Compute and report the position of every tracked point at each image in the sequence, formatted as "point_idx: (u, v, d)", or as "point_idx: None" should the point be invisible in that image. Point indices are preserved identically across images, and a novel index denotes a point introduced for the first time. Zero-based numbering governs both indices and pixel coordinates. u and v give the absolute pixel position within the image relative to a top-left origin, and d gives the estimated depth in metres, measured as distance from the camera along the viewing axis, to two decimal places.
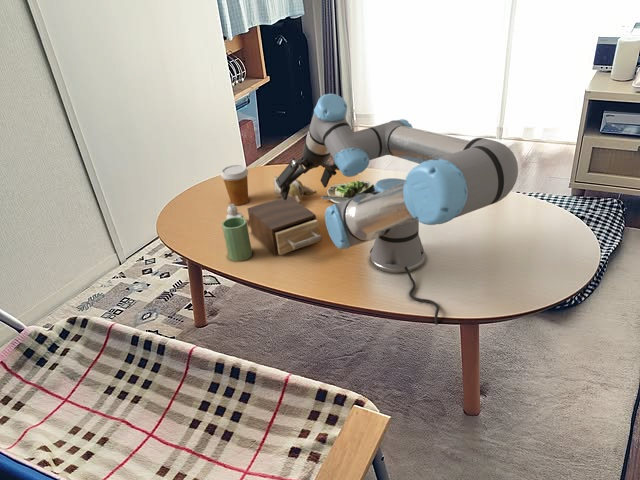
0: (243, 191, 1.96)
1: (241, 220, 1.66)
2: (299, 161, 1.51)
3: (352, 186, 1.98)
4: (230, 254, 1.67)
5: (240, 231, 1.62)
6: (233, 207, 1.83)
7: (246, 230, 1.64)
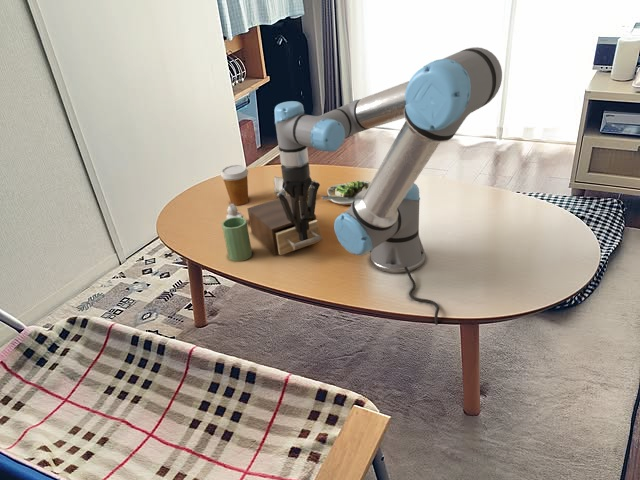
0: (243, 191, 1.96)
1: (241, 220, 1.66)
2: (281, 191, 1.52)
3: (352, 186, 1.98)
4: (230, 254, 1.67)
5: (240, 231, 1.62)
6: (233, 207, 1.83)
7: (246, 230, 1.64)
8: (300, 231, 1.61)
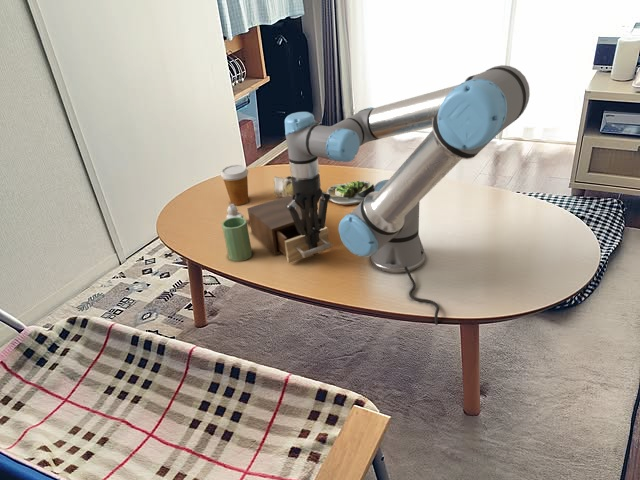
0: (243, 191, 1.96)
1: (241, 220, 1.66)
2: (291, 203, 1.49)
3: (352, 186, 1.98)
4: (230, 254, 1.67)
5: (240, 231, 1.62)
6: (233, 207, 1.83)
7: (246, 230, 1.64)
8: (310, 243, 1.58)
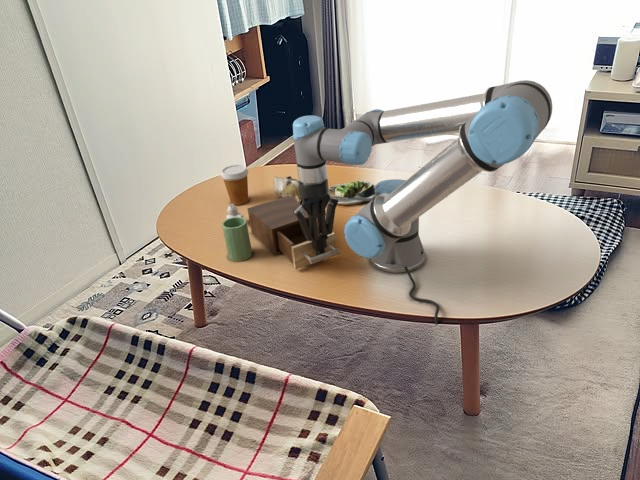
0: (243, 191, 1.96)
1: (241, 220, 1.66)
2: (299, 208, 1.46)
3: (352, 186, 1.98)
4: (230, 254, 1.67)
5: (240, 231, 1.62)
6: (233, 207, 1.83)
7: (246, 230, 1.64)
8: (317, 249, 1.55)
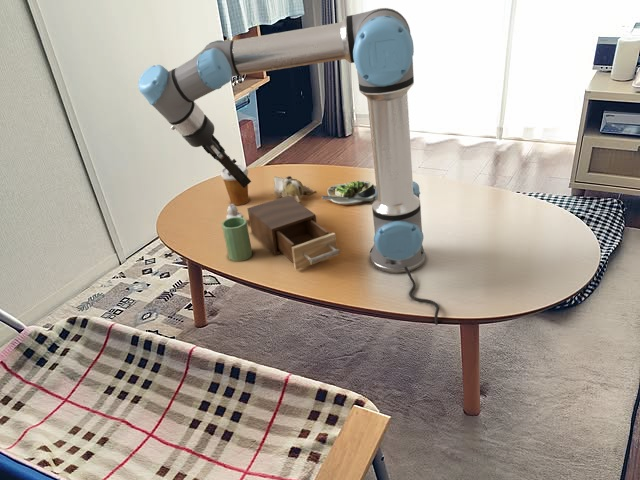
0: (243, 191, 1.96)
1: (241, 220, 1.66)
2: (217, 151, 1.35)
3: (352, 186, 1.98)
4: (230, 254, 1.67)
5: (240, 231, 1.62)
6: (233, 207, 1.83)
7: (246, 230, 1.64)
8: (242, 175, 1.48)
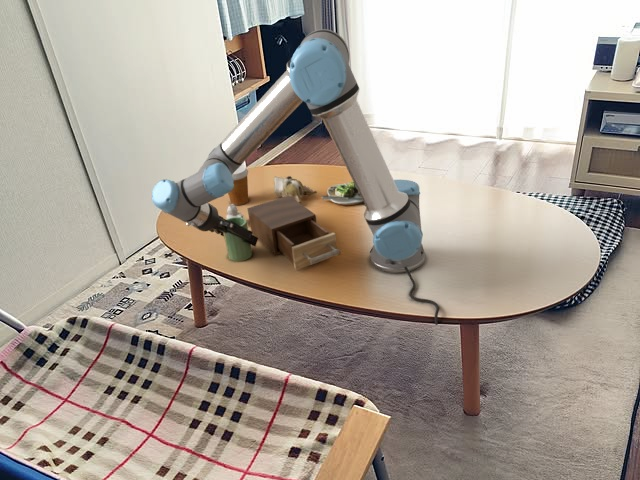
0: (243, 191, 1.96)
1: (241, 220, 1.66)
2: (226, 223, 1.53)
3: (352, 186, 1.98)
4: (230, 254, 1.67)
5: None
6: (233, 207, 1.83)
7: None
8: (251, 236, 1.65)
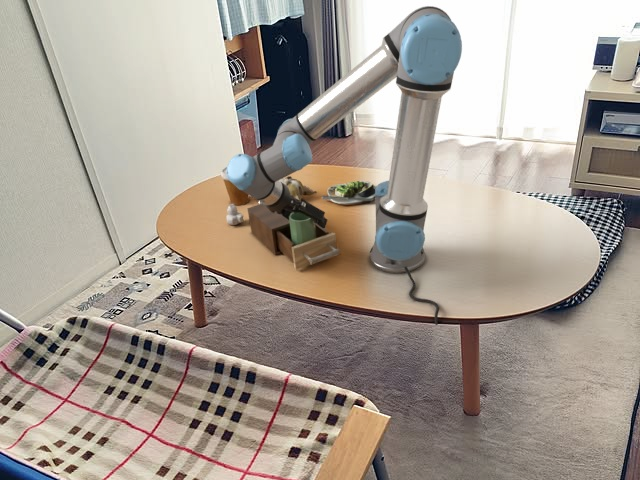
0: None
1: None
2: (297, 202, 1.46)
3: (352, 186, 1.98)
4: None
5: (308, 224, 1.57)
6: (233, 207, 1.83)
7: (314, 223, 1.59)
8: None
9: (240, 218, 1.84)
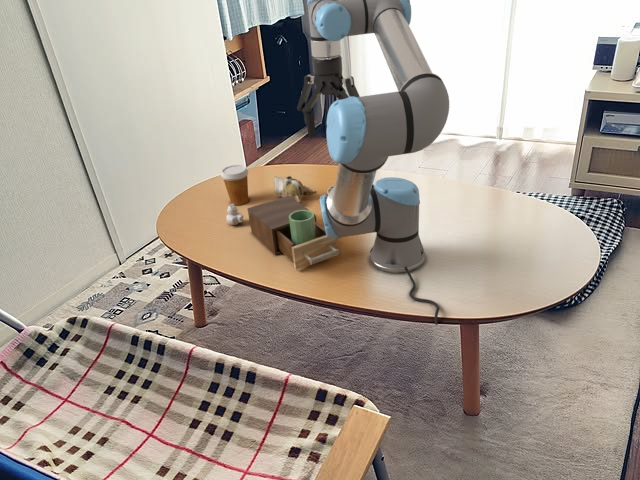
0: (243, 191, 1.96)
1: (308, 213, 1.61)
2: (311, 76, 1.48)
3: None
4: None
5: (308, 224, 1.57)
6: (233, 207, 1.83)
7: (314, 223, 1.59)
8: None
9: (240, 218, 1.84)
